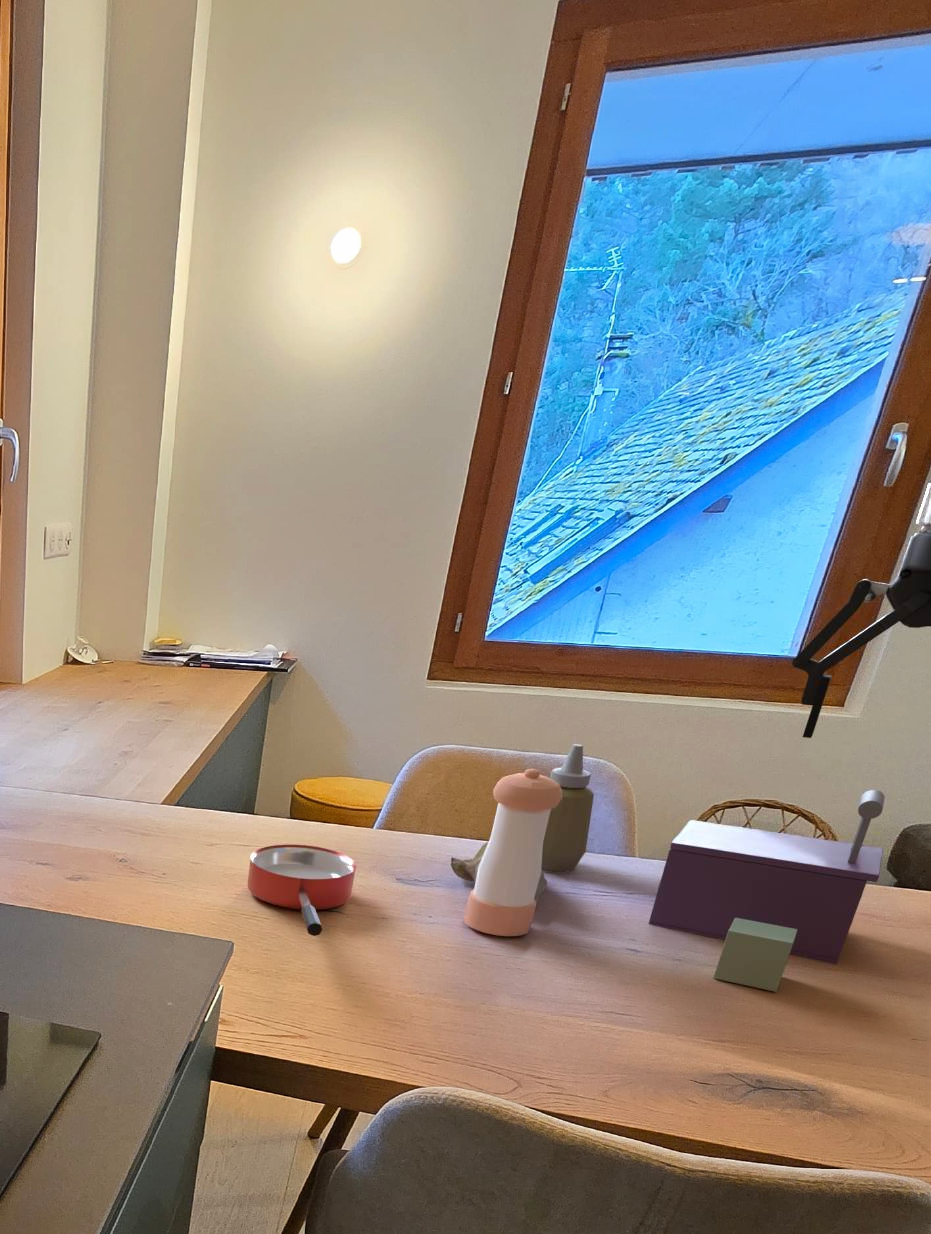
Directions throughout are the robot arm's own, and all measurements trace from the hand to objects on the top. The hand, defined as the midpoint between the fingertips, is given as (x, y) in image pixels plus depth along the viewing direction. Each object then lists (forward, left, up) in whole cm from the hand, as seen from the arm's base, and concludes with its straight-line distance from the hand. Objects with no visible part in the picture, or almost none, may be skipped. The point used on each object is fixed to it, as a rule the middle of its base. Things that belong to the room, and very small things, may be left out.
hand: (886, 744), depth 113 cm
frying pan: (+48, +31, -24) cm, 62 cm away
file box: (+7, 0, -23) cm, 24 cm away
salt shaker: (+30, +18, -23) cm, 42 cm away
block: (+5, +17, -23) cm, 29 cm away
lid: (+6, 0, -13) cm, 15 cm away
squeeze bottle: (+31, -10, -23) cm, 40 cm away
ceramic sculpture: (+33, +6, -23) cm, 41 cm away
